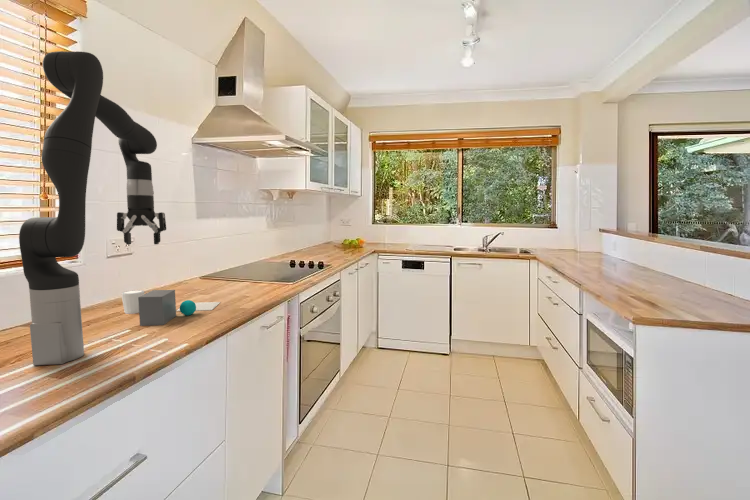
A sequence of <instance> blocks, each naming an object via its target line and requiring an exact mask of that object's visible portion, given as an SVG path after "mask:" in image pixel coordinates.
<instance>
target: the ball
mask: <svg viewBox="0 0 750 500" xmlns="http://www.w3.org/2000/svg"><path fill="white" fill-rule="evenodd" d="M195 303H196V302H194V301H192V300H191V299H187V300H184V301H182V302H181V303H180V305H179V308H180V311H179V312H180V313H181V314H182V315H184V316H191V315H194V314H195V312H196V311H195V310H196V304H195Z"/></svg>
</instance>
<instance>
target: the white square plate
mask: <svg viewBox="0 0 750 500" xmlns="http://www.w3.org/2000/svg"><path fill="white" fill-rule="evenodd" d="M194 303H195V304H196V310H195V312H196V311H198V312H199V311H200V312H202V311H213V310H214V309H215V308H216V307H217V306H218V305H219V304H220V303H221V301H212V302H211V301H206V302H205V301H204V302H201V301H200V302H194ZM176 312H180V307H179V308H178V309H177V308H176Z"/></svg>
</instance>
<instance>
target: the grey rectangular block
mask: <svg viewBox="0 0 750 500" xmlns="http://www.w3.org/2000/svg"><path fill="white" fill-rule="evenodd" d="M138 301H139V313H138V315H139V317H138V318H139V327H141V326H142V327H145V326H146V327H147V326H149V327H150V326H164V325H166V324H167V323H169V322H170V321H171V320H173V319H174V318H175V317H177V311H176V310H177V303H176V289H154V290H150V291H148V292H147V293H144V295H142V296H140V297H138Z"/></svg>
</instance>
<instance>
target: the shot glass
mask: <svg viewBox="0 0 750 500" xmlns="http://www.w3.org/2000/svg"><path fill="white" fill-rule="evenodd" d="M144 294H145V290H143V289H141V290H140V289H137V290H135V289H134V290H126V291H122V292H121V300H122V307H123V311H124V314H126V315H132V314H133V315H134V314H139V301H138V297H140V296H142V295H144Z"/></svg>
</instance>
